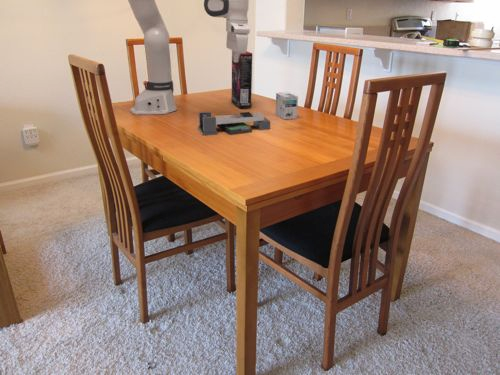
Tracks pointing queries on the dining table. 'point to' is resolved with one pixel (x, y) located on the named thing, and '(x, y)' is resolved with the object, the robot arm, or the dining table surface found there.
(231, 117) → the bar
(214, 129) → the strap bracket
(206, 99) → the dining table surface
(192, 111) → the dining table surface
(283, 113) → the light bulb box
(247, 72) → the graphics card box
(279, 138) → the dining table surface
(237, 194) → the dining table surface
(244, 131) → the disk drive
